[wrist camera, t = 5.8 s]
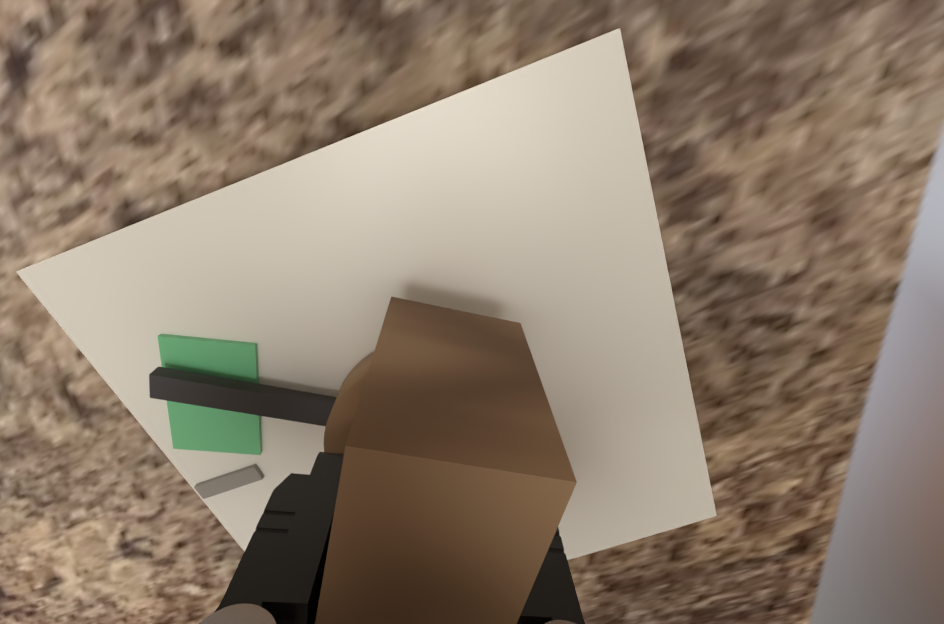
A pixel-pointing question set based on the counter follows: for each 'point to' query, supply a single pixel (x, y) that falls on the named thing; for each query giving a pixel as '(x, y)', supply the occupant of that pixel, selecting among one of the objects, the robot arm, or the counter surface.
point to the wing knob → (425, 468)
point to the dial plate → (416, 291)
